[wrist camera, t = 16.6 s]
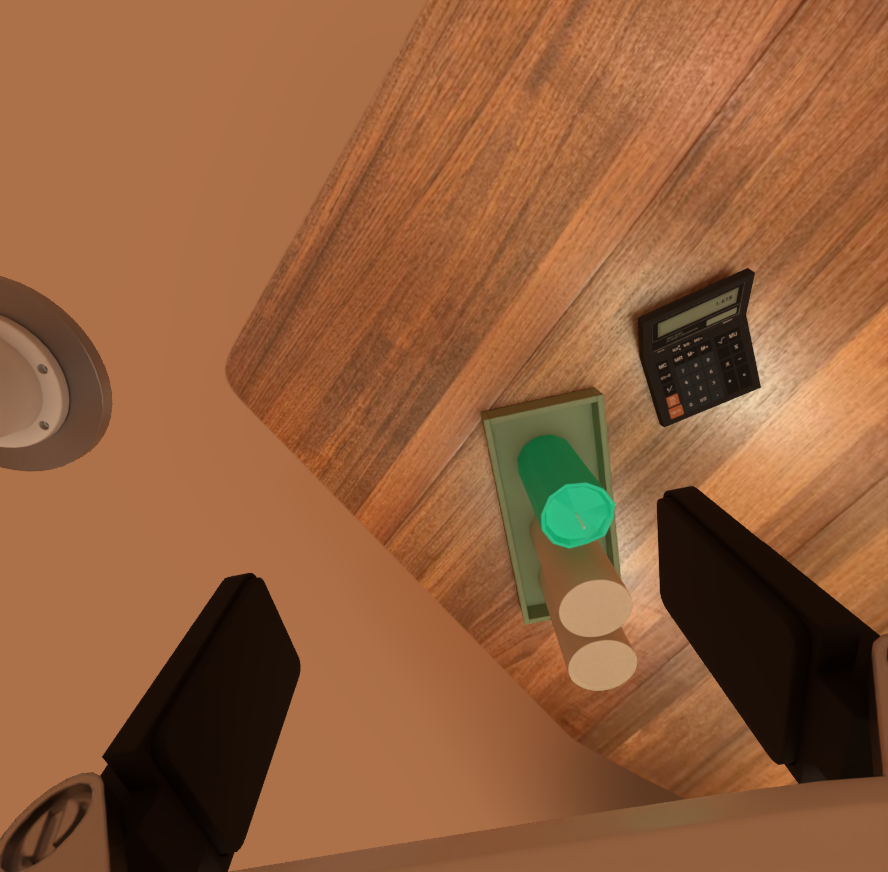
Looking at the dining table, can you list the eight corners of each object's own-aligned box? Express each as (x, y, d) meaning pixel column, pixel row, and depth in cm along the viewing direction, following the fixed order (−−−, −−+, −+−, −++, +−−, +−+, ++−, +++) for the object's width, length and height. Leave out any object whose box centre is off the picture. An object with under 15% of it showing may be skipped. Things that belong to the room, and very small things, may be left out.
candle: (512, 485, 44) (537, 557, 33) (522, 431, 42) (553, 488, 31) (568, 490, 44) (612, 564, 33) (581, 437, 42) (633, 496, 31)
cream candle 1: (534, 555, 47) (563, 642, 36) (525, 509, 45) (554, 587, 34) (587, 544, 47) (634, 630, 36) (581, 498, 45) (629, 573, 33)
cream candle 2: (542, 600, 49) (572, 695, 38) (534, 558, 47) (564, 647, 36) (593, 590, 49) (639, 684, 38) (588, 548, 47) (635, 634, 36)
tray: (520, 608, 50) (524, 624, 48) (480, 412, 42) (483, 420, 39) (614, 591, 50) (623, 606, 47) (594, 387, 41) (603, 394, 39)
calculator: (660, 424, 42) (675, 435, 40) (627, 315, 38) (642, 318, 36) (754, 385, 41) (777, 393, 38) (730, 268, 37) (753, 267, 34)
